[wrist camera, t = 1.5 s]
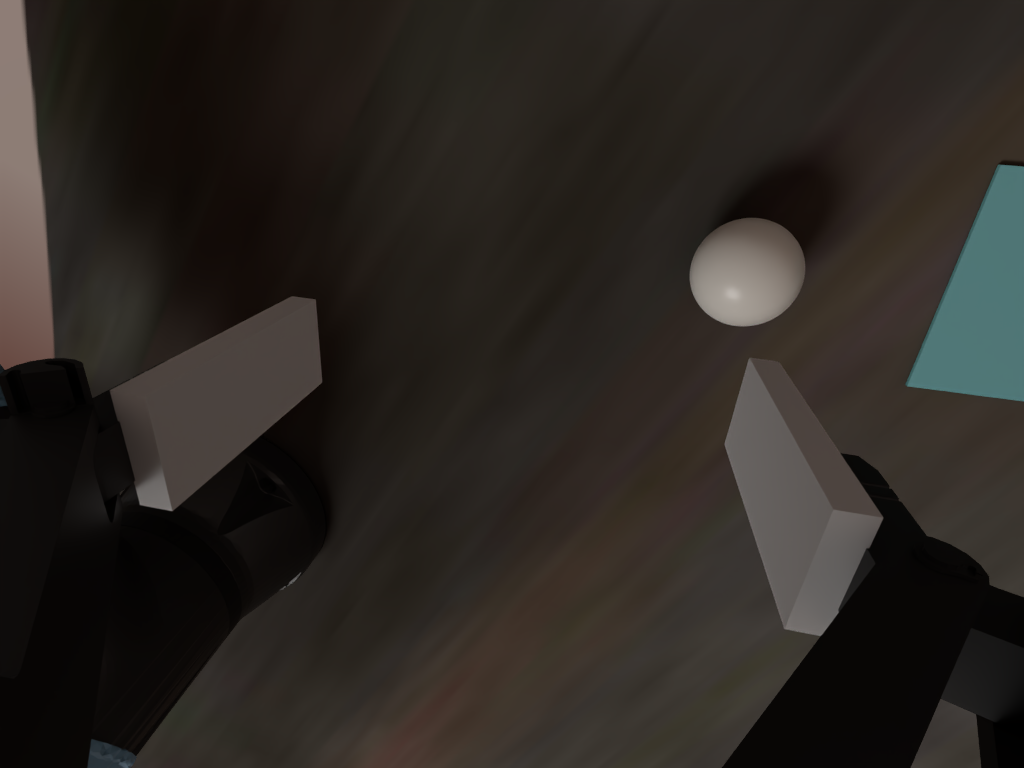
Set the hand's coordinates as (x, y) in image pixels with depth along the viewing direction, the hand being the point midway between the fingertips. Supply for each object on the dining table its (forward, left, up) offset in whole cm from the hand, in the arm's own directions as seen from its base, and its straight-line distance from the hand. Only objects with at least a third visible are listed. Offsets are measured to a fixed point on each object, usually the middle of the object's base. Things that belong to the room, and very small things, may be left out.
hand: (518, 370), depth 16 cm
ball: (+9, 0, -16) cm, 18 cm away
